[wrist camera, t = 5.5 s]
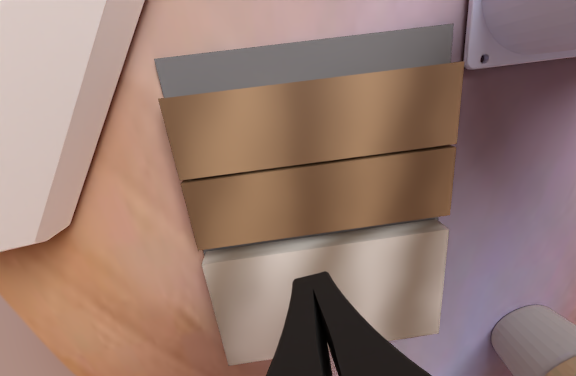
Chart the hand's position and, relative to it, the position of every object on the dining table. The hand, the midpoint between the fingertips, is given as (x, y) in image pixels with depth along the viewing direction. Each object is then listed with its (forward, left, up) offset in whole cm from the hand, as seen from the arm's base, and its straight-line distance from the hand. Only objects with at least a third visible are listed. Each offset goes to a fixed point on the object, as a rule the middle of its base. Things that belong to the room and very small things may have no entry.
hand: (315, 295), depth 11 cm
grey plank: (-2, +7, -8) cm, 11 cm away
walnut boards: (-2, -3, -8) cm, 9 cm away
